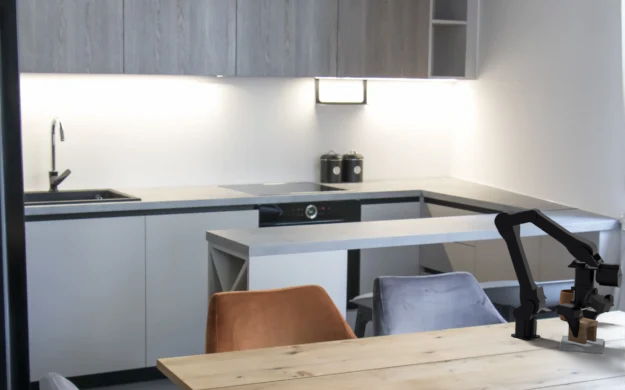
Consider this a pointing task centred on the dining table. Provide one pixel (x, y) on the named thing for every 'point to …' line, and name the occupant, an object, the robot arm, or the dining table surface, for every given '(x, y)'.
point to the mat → (582, 346)
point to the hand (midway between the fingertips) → (582, 335)
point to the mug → (566, 299)
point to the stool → (584, 331)
